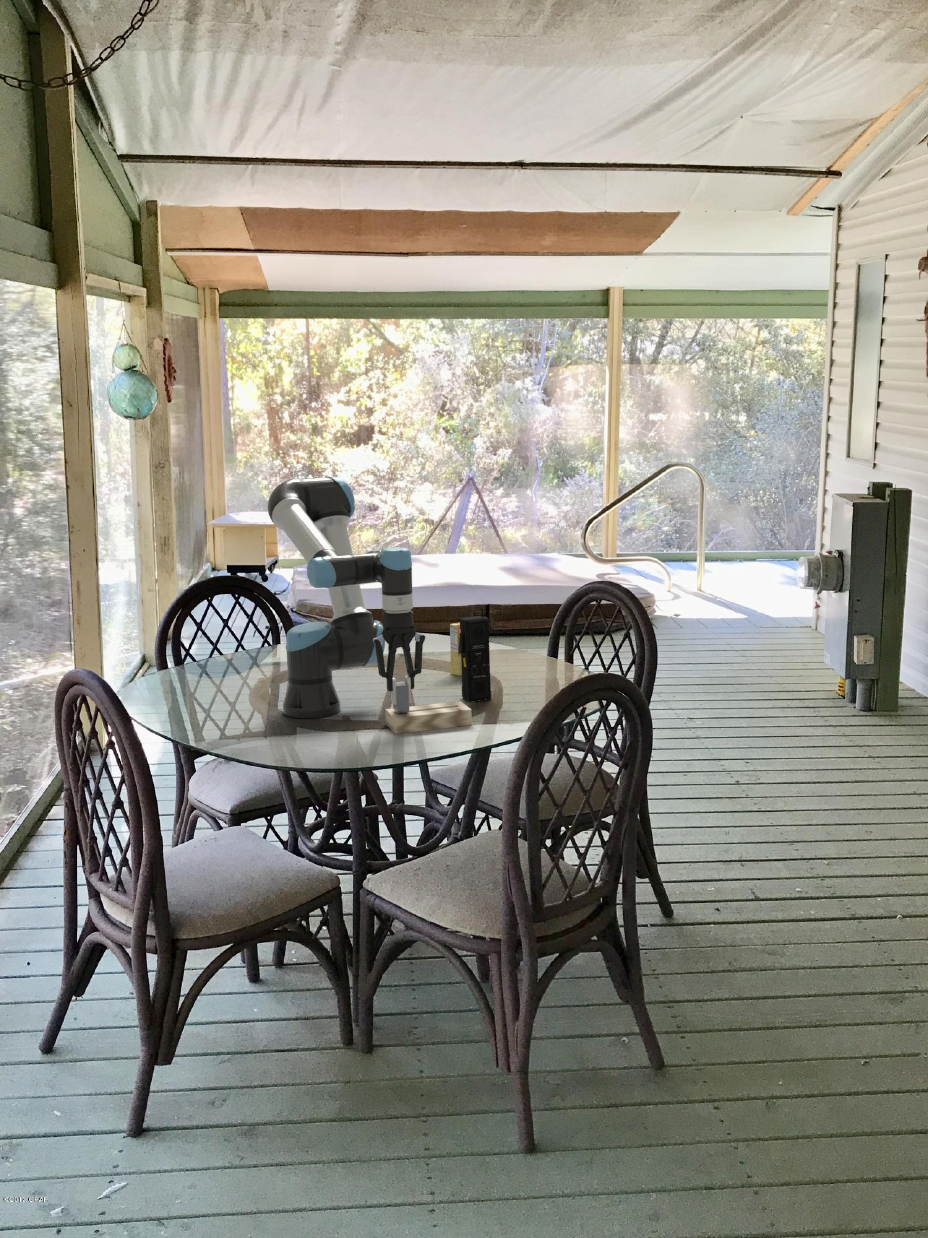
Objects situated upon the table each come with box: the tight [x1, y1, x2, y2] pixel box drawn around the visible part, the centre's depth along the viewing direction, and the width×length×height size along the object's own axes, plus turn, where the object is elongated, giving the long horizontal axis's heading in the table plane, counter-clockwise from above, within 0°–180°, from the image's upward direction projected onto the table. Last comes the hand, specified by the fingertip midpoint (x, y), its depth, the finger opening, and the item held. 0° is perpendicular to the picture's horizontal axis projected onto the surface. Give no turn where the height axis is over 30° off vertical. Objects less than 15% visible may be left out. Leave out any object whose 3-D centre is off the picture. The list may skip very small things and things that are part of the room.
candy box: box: [449, 622, 462, 677], centre depth 345 cm, size 9×4×15 cm, turn 129°
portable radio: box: [459, 607, 492, 703], centre depth 313 cm, size 8×6×25 cm
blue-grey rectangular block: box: [392, 680, 410, 713], centre depth 288 cm, size 3×4×7 cm
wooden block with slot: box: [384, 700, 473, 735], centre depth 291 cm, size 20×9×4 cm, turn 109°
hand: (401, 702), depth 288 cm, fingers closed on blue-grey rectangular block, 3 cm apart
